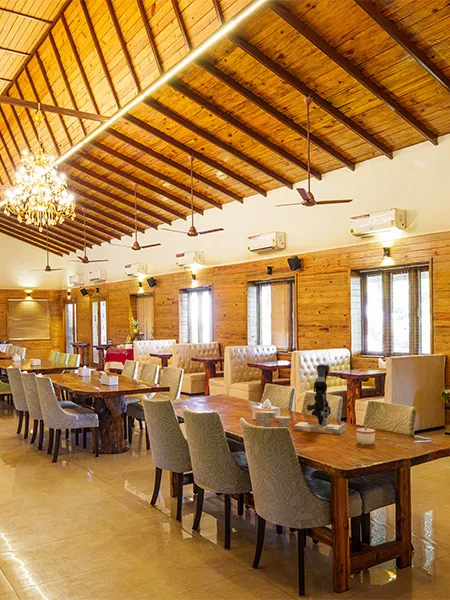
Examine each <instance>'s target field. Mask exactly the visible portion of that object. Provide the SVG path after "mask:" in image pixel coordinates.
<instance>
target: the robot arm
mask: <svg viewBox="0 0 450 600" xmlns="http://www.w3.org/2000/svg"><path fill="white" fill-rule="evenodd" d="M316 372H317V378H315V380H314V383H313V393H315V395H314V399H313V400H314V401H315V402H314V404H308V405H307V406H306V410H307V412H310V411H311V416H315V417H316V418H317V421H318V422H317V423H318V424H319V425H321V424H322V422H323V420H324V418H328V419H329V416H330V415H331V414H332V412H331V407H330V405H329V404H330V403H329V402H328V400H327V391H328V384H327V377H328V375H329V374H330V366H329V365H328V364H318V365H316ZM329 423H330V421H328V424H329Z"/></svg>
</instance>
